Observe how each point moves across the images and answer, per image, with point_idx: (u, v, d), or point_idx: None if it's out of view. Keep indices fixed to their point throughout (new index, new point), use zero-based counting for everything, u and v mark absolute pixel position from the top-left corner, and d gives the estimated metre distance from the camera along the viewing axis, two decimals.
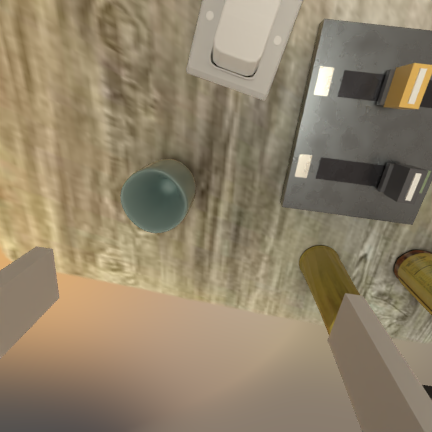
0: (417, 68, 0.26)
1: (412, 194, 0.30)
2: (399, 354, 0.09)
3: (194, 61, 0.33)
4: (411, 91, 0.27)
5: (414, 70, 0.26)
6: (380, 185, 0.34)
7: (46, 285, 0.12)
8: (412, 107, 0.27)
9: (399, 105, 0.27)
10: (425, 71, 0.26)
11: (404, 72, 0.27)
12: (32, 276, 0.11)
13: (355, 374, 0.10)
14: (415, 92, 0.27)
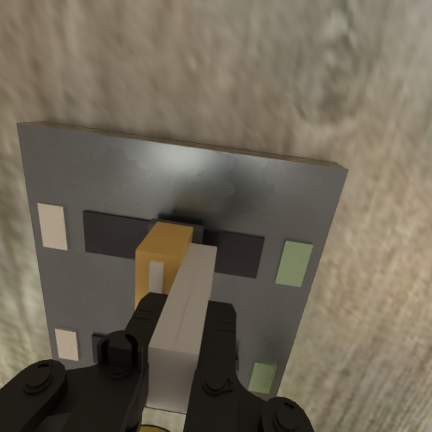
0: (145, 260, 0.12)
1: None
2: (211, 281, 0.11)
3: None
4: None
5: (141, 263, 0.12)
6: None
7: None
8: None
9: None
10: (162, 269, 0.12)
11: None
12: None
13: None
14: None
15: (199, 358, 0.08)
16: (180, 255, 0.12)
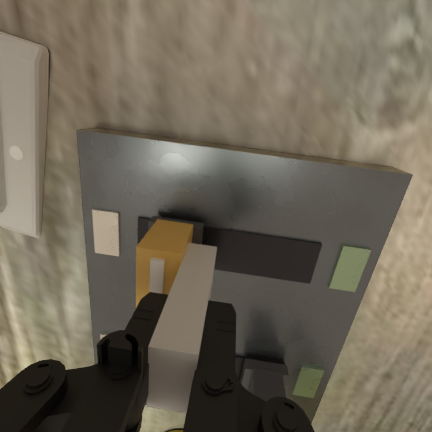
0: (146, 257, 0.12)
1: None
2: (211, 281, 0.11)
3: None
4: None
5: (141, 259, 0.12)
6: None
7: None
8: None
9: None
10: (162, 265, 0.12)
11: None
12: None
13: None
14: None
15: (199, 358, 0.08)
16: (180, 252, 0.12)
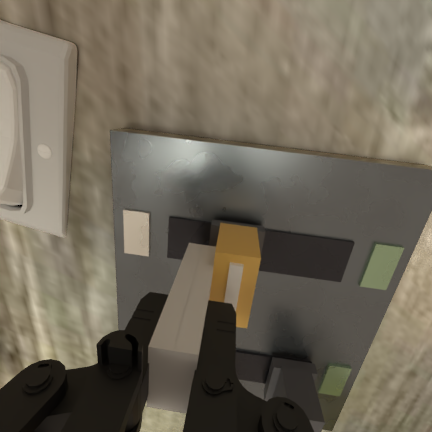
0: (224, 262, 0.12)
1: None
2: (211, 281, 0.11)
3: None
4: (224, 300, 0.12)
5: (219, 264, 0.12)
6: (265, 389, 0.20)
7: None
8: None
9: None
10: (241, 270, 0.12)
11: None
12: None
13: None
14: None
15: (199, 358, 0.08)
16: (259, 256, 0.12)
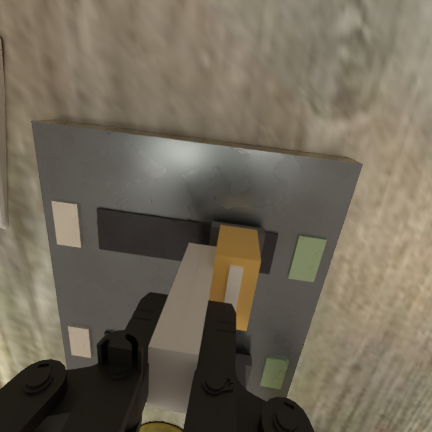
0: (224, 265, 0.12)
1: None
2: (211, 281, 0.11)
3: None
4: (224, 302, 0.12)
5: (219, 267, 0.12)
6: None
7: None
8: None
9: None
10: (241, 273, 0.11)
11: None
12: None
13: None
14: None
15: (199, 358, 0.08)
16: (259, 259, 0.11)
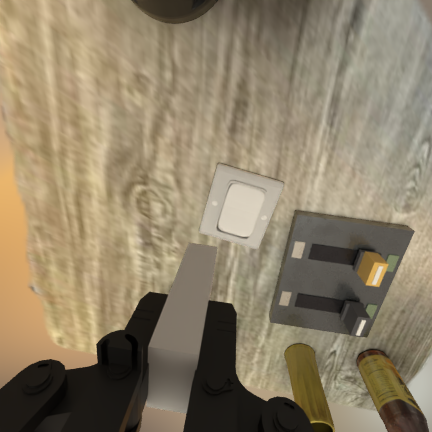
0: (377, 265, 0.38)
1: (360, 332, 0.43)
2: (211, 281, 0.11)
3: (204, 227, 0.45)
4: (373, 277, 0.39)
5: (375, 266, 0.38)
6: (341, 314, 0.46)
7: None
8: (374, 285, 0.40)
9: (366, 284, 0.40)
10: (382, 267, 0.38)
11: (369, 262, 0.40)
12: None
13: None
14: (376, 278, 0.39)
15: (199, 358, 0.08)
16: (387, 263, 0.38)
